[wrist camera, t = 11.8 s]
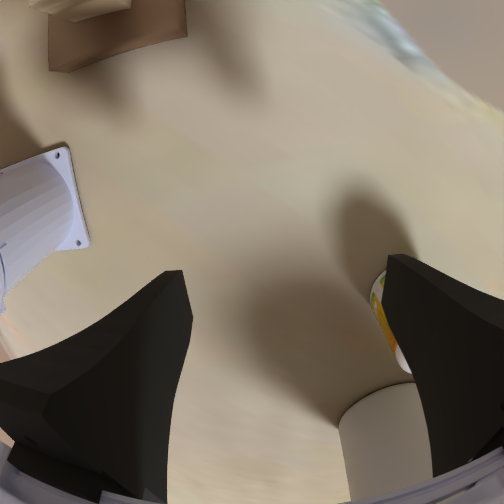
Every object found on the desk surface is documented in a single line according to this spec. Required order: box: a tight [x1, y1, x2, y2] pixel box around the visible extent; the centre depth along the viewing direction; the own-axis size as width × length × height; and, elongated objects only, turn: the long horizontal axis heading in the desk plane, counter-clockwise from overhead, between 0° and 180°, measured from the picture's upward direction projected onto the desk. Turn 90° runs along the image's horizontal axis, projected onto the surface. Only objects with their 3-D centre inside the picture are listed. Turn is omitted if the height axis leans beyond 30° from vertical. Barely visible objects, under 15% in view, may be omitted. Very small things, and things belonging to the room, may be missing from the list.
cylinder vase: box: [339, 383, 466, 504], centre depth 19 cm, size 12×12×25 cm
